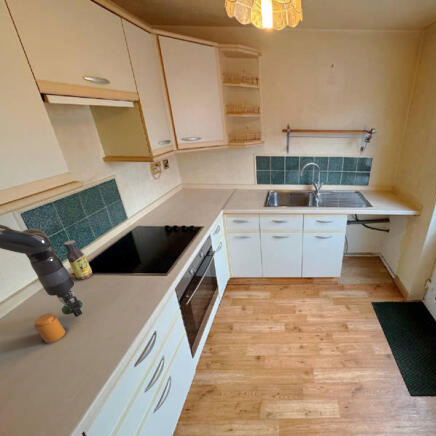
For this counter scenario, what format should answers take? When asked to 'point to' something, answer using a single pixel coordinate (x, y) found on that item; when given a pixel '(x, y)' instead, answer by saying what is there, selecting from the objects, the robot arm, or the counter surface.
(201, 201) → the counter surface
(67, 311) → the lid
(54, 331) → the honey jar
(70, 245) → the sauce bottle
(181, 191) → the counter surface
